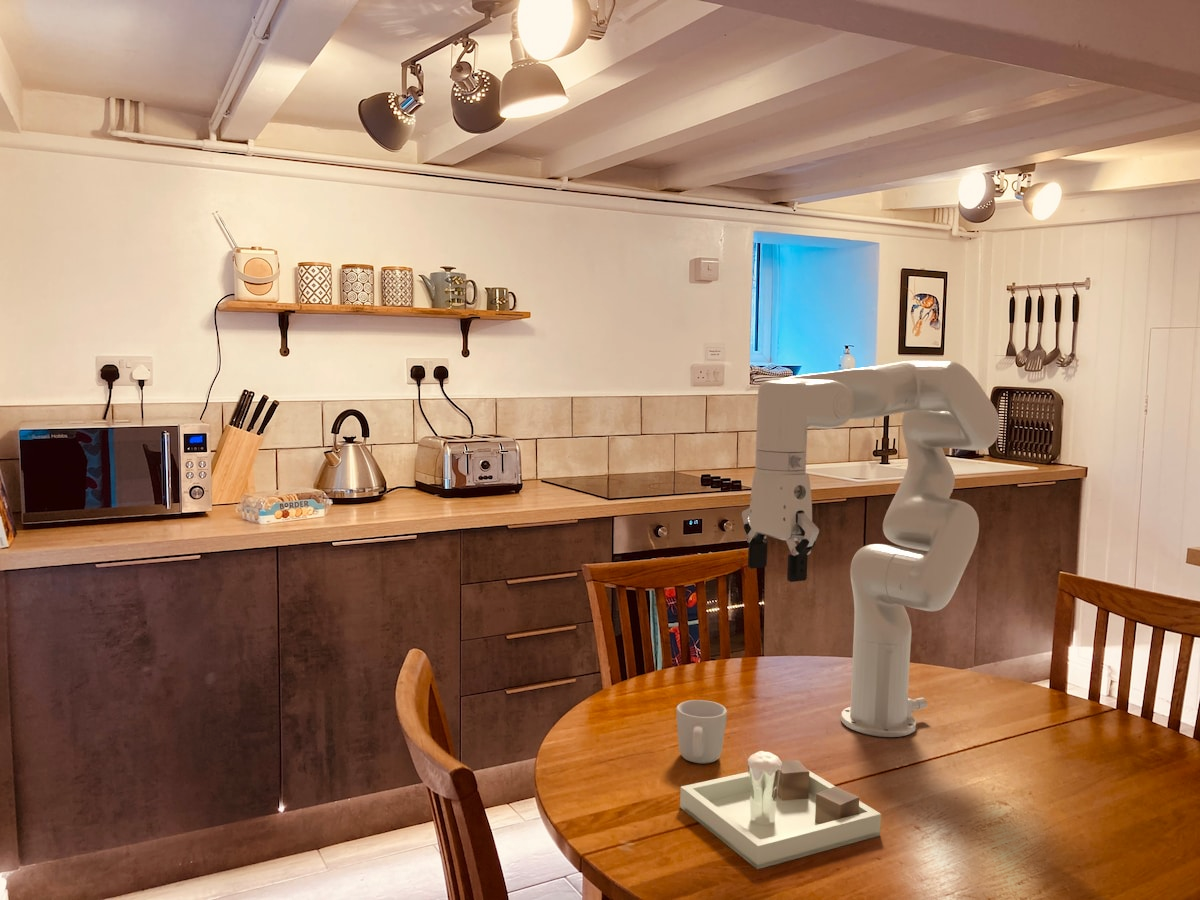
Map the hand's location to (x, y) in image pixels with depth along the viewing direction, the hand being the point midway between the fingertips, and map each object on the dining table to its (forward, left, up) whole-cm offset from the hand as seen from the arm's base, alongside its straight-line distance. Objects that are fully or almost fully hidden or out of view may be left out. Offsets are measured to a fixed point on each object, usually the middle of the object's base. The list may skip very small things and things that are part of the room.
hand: (776, 573), depth 143 cm
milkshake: (+13, +15, -30) cm, 36 cm away
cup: (+9, -6, -31) cm, 32 cm away
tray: (+10, +15, -30) cm, 35 cm away
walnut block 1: (+4, +10, -30) cm, 32 cm away
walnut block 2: (+4, +20, -30) cm, 36 cm away
